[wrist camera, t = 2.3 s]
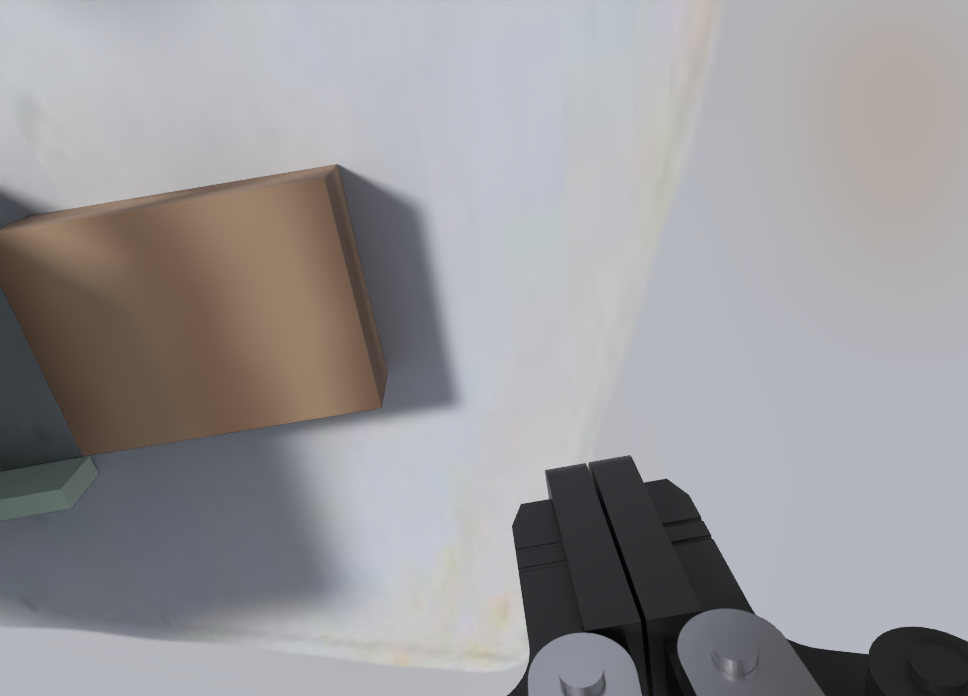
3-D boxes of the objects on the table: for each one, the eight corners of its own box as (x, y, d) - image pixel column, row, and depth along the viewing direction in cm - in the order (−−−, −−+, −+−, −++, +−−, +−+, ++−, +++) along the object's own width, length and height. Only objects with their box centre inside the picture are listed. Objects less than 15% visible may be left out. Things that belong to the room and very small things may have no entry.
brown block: (339, 162, 26) (324, 178, 23) (388, 369, 29) (381, 407, 26) (34, 213, 26) (-23, 236, 23) (121, 412, 30) (83, 456, 26)
